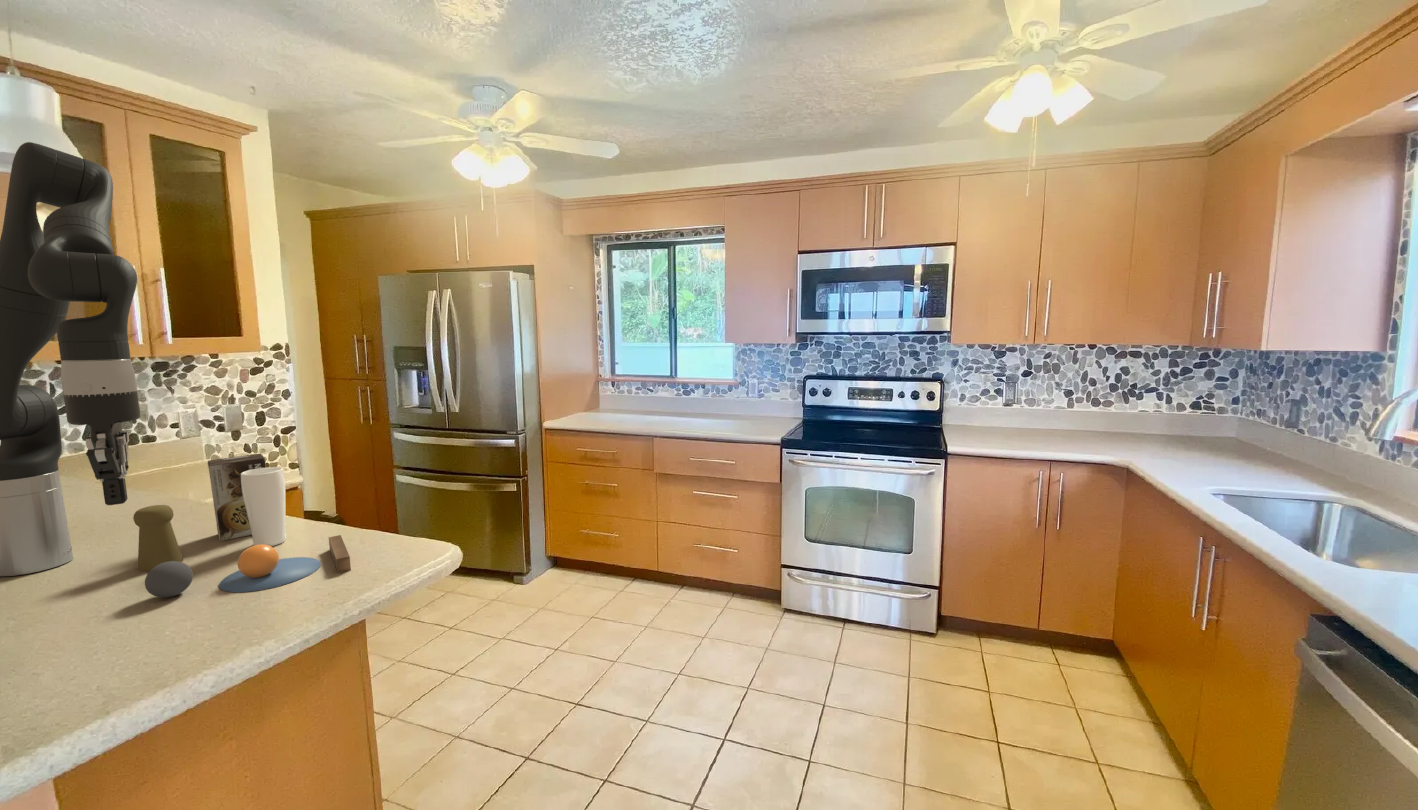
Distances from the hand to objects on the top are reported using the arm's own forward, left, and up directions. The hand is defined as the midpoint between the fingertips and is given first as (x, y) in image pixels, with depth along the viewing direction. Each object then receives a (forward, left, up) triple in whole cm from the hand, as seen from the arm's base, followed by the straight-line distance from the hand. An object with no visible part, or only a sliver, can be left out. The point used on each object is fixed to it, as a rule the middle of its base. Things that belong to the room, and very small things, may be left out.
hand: (116, 503), depth 86 cm
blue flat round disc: (+17, 0, -16) cm, 24 cm away
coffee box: (+13, +31, -17) cm, 38 cm away
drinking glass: (+17, +19, -17) cm, 31 cm away
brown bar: (+27, 0, -16) cm, 32 cm away
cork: (+1, +19, -17) cm, 25 cm away
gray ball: (+4, 0, -14) cm, 14 cm away
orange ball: (+16, 0, -14) cm, 21 cm away
